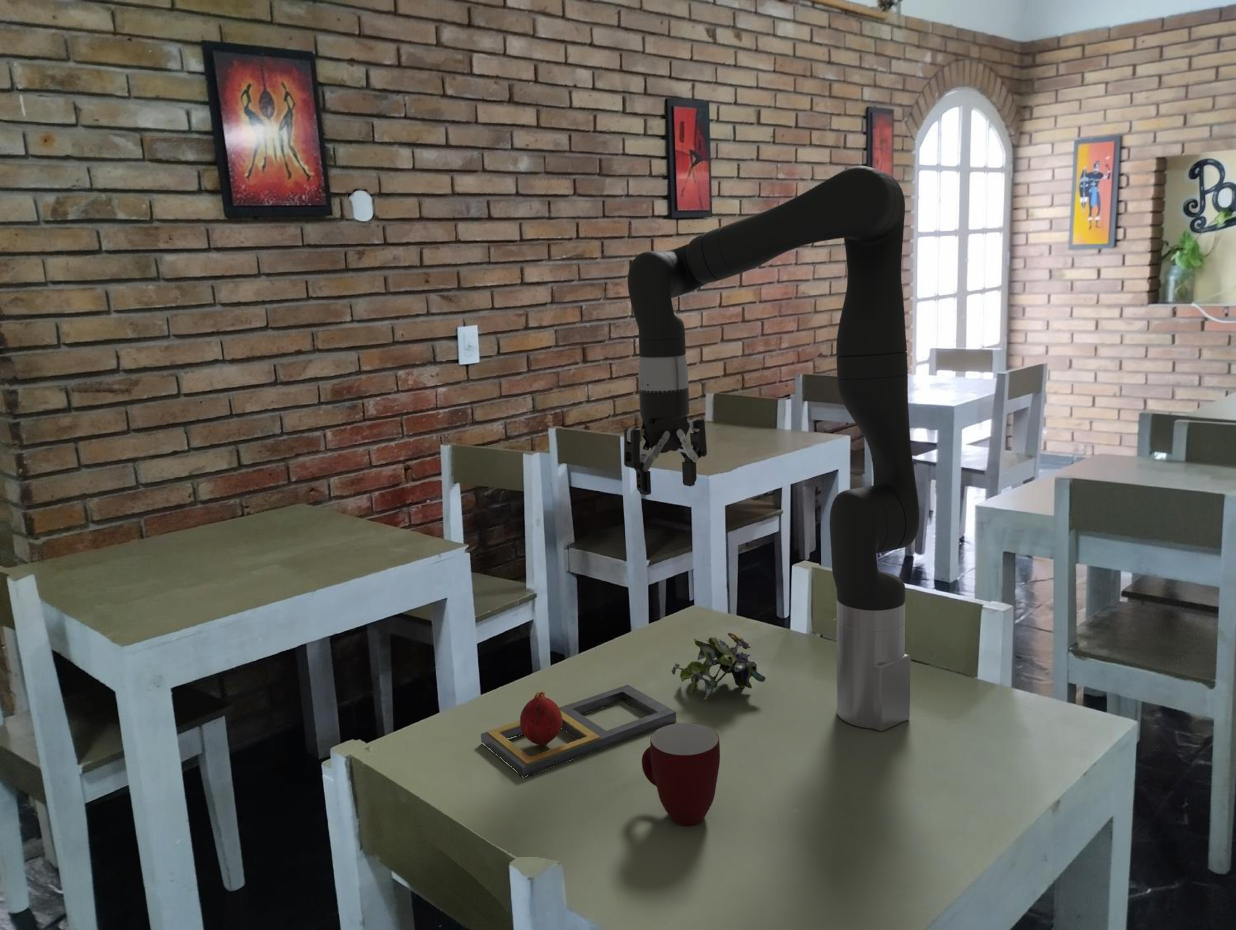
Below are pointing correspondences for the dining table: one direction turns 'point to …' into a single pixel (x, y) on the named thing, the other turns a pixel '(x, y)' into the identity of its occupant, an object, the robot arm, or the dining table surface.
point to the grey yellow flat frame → (581, 730)
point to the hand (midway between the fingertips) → (667, 489)
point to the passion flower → (727, 660)
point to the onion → (541, 720)
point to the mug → (684, 769)
